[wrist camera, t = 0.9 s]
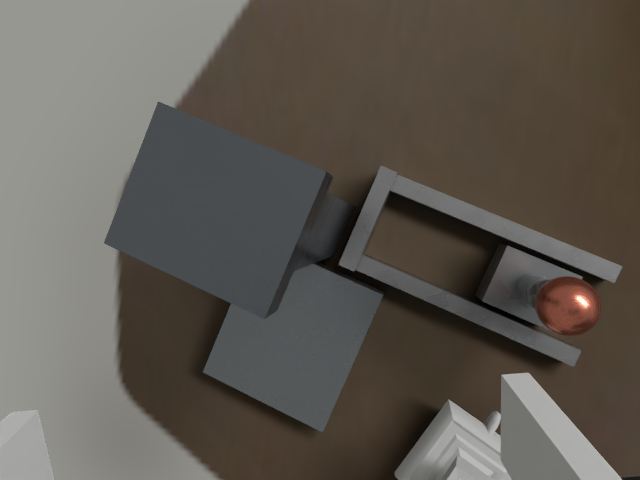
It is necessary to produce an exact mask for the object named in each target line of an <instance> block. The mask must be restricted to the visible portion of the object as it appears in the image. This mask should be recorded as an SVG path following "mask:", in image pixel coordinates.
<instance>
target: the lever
mask: <svg viewBox="0 0 640 480" xmlns="http://www.w3.org/2000/svg"><path fill="white" fill-rule="evenodd" d="M582 278H583V277H582V276H580V275H577V274H575V273H572V272H570V271H568V270H565V269H563V268H560V267H558V266H556V265H553V264H551V263H548V262H546V261H544V260H541V259H539V258H536V257H534V256H532V255H529V254H527V253H524V252H522V251H520V250H517V249H515V248H512V247H510V246H507V245H501V244H498V246H497V248H496V251H495V253H494V255H493V257H492V259H491V261H490V264H489V266H488V268H487V270H486V272H485V274H484V277H483V279H482V281H481V283H480V285H479V287H478V290H477V292H476V294H475V295H476V296H477V297H478V298H479V299H480V300H481V301H483V302H485V303H488V304H490V305H492V306H494V307H497V308H499V309H501V310H504V311H506V312H508V313H510V314H513V315H515V316H517V317H520V318H522V319H524V320H526V321H529V322H531V323H533V324H536V325H538V326H540V327H542V328H545V329H547V330H549V331H552V332H554V333H558V334H561V335H567V336H574V335H579V334H582V333H585V332H587V331H589V330H590V329H591V328H593V327H594V326H595V324H596V323H597V322H598V320H599V318H600V315H601V301H600V298H599V296H598V294H597V292H596V291H595V289H594V288H593V287H592V286H591V285H590V284H588V283H587V282H585V281H583V280H582Z"/></svg>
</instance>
